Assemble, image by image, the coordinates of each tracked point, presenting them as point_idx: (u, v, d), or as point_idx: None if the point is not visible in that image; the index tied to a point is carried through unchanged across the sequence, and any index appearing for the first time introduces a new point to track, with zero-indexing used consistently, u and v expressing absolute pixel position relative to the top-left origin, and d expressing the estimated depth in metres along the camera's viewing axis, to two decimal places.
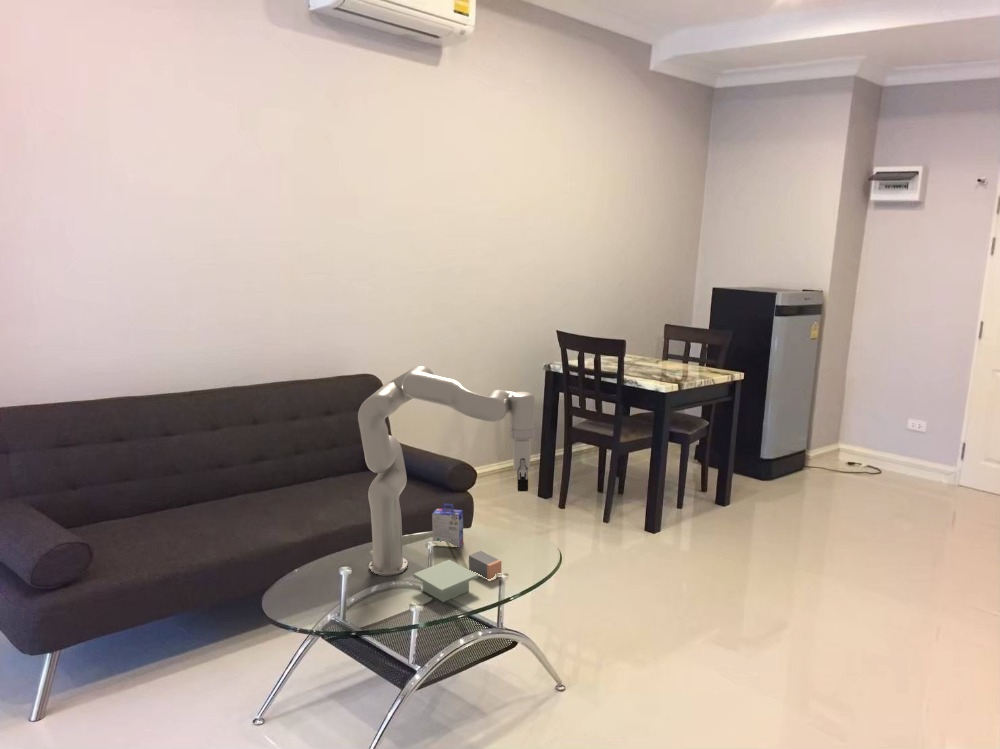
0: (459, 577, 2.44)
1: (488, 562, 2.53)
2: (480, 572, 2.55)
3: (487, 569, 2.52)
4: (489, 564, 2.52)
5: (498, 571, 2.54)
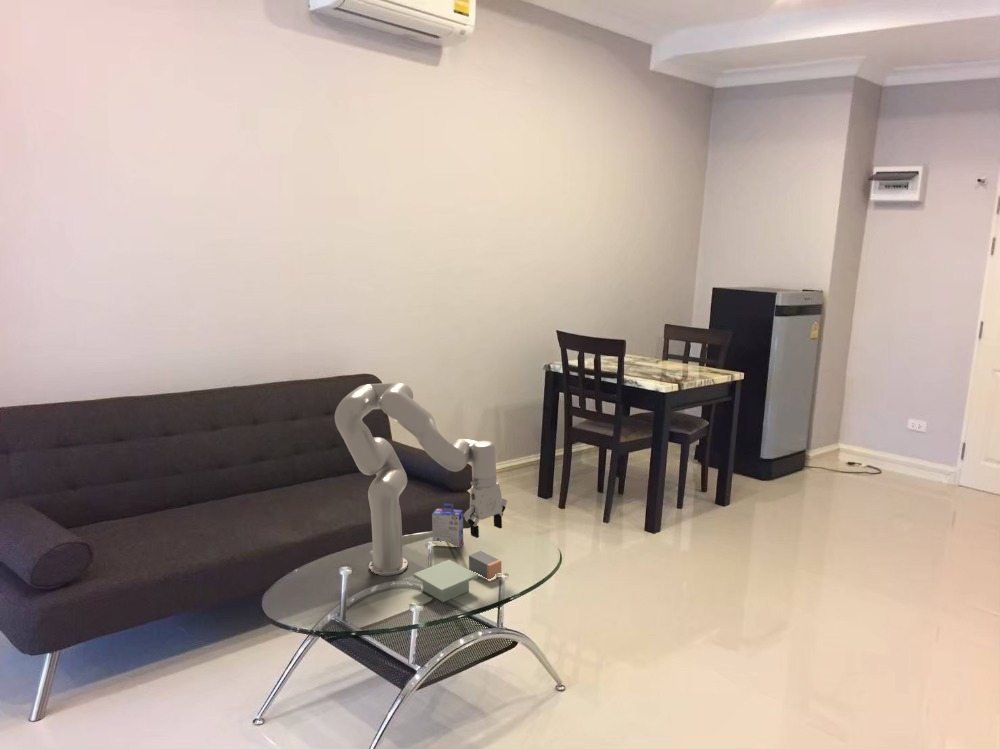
0: (459, 577, 2.44)
1: (488, 562, 2.53)
2: (480, 572, 2.55)
3: (487, 569, 2.52)
4: (489, 564, 2.52)
5: (498, 571, 2.54)
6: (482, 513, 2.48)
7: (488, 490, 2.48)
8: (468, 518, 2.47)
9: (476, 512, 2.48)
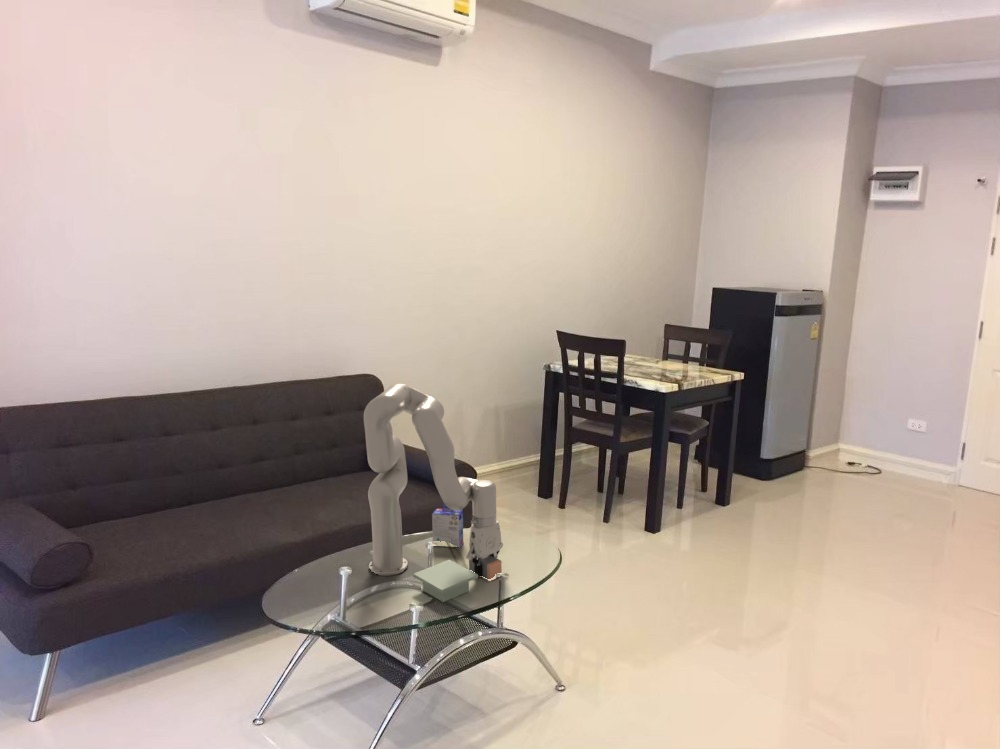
0: (459, 577, 2.44)
1: (488, 562, 2.53)
2: None
3: (487, 569, 2.52)
4: (489, 564, 2.52)
5: (498, 571, 2.54)
6: (481, 551, 2.51)
7: (488, 529, 2.51)
8: (471, 559, 2.52)
9: None
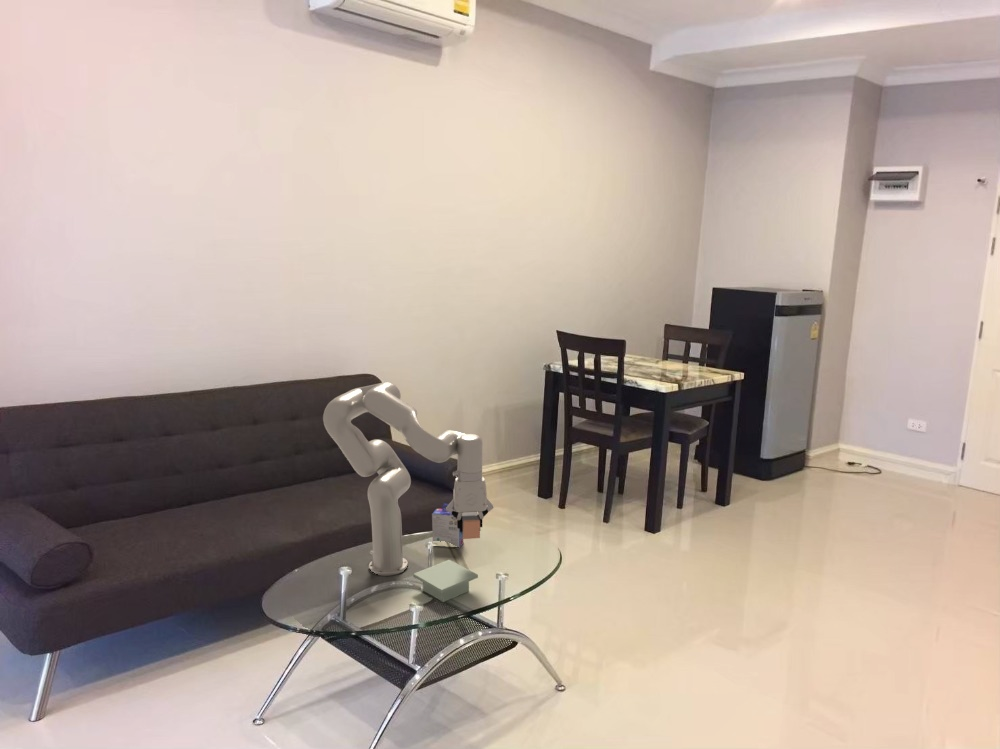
0: (459, 577, 2.44)
1: (467, 519, 2.46)
2: None
3: (463, 525, 2.45)
4: (465, 521, 2.45)
5: (475, 530, 2.45)
6: (458, 506, 2.45)
7: (468, 485, 2.44)
8: (450, 511, 2.47)
9: None
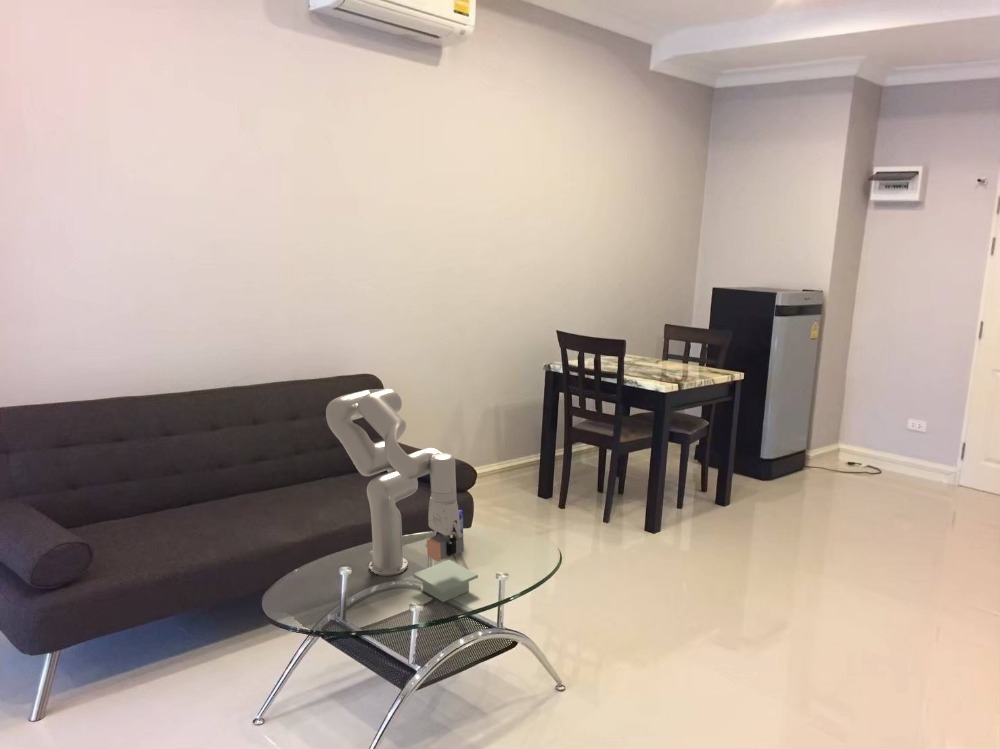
0: (459, 577, 2.44)
1: (434, 538, 2.42)
2: None
3: None
4: (429, 538, 2.41)
5: (434, 552, 2.39)
6: (430, 522, 2.43)
7: (435, 503, 2.39)
8: None
9: None
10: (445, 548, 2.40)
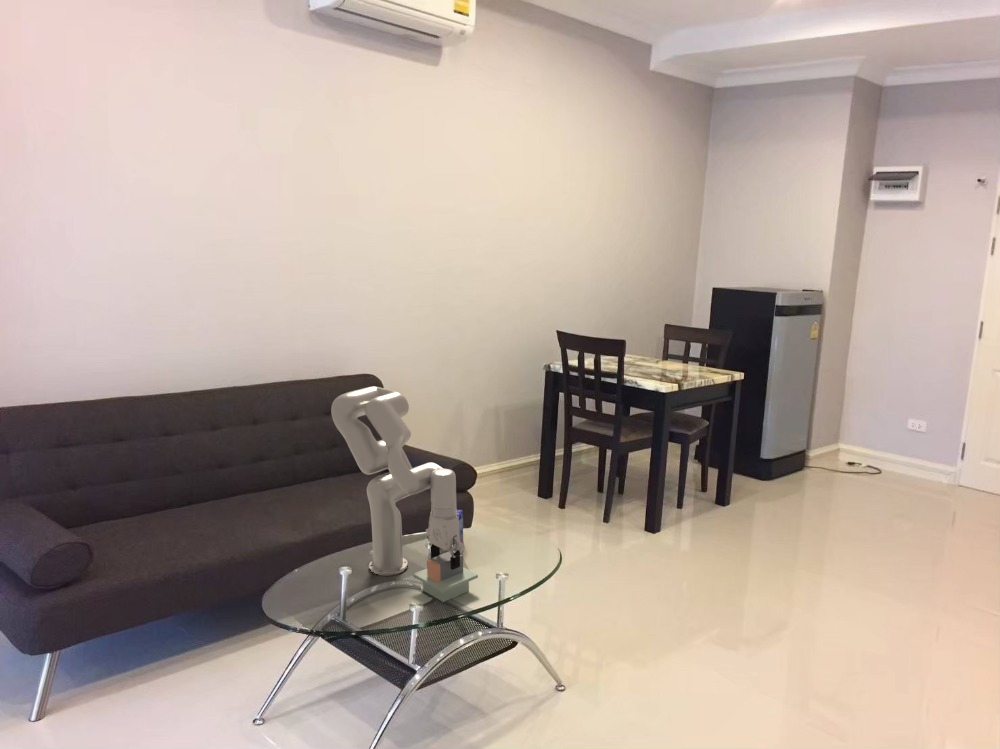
0: (459, 577, 2.44)
1: (434, 559, 2.43)
2: None
3: None
4: (430, 559, 2.43)
5: (434, 573, 2.41)
6: (430, 536, 2.44)
7: (435, 518, 2.40)
8: (427, 534, 2.48)
9: None
10: (445, 569, 2.42)
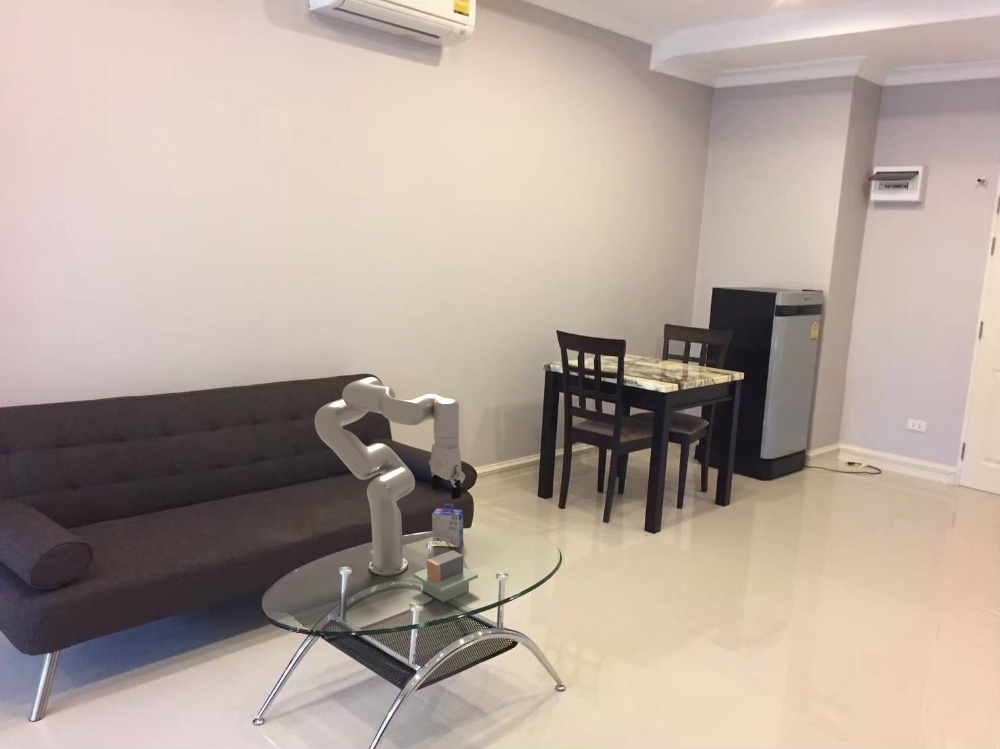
0: (459, 577, 2.44)
1: (434, 559, 2.43)
2: None
3: None
4: (430, 559, 2.43)
5: (434, 573, 2.41)
6: (432, 466, 2.44)
7: (437, 448, 2.40)
8: (430, 464, 2.48)
9: None
10: (445, 569, 2.42)
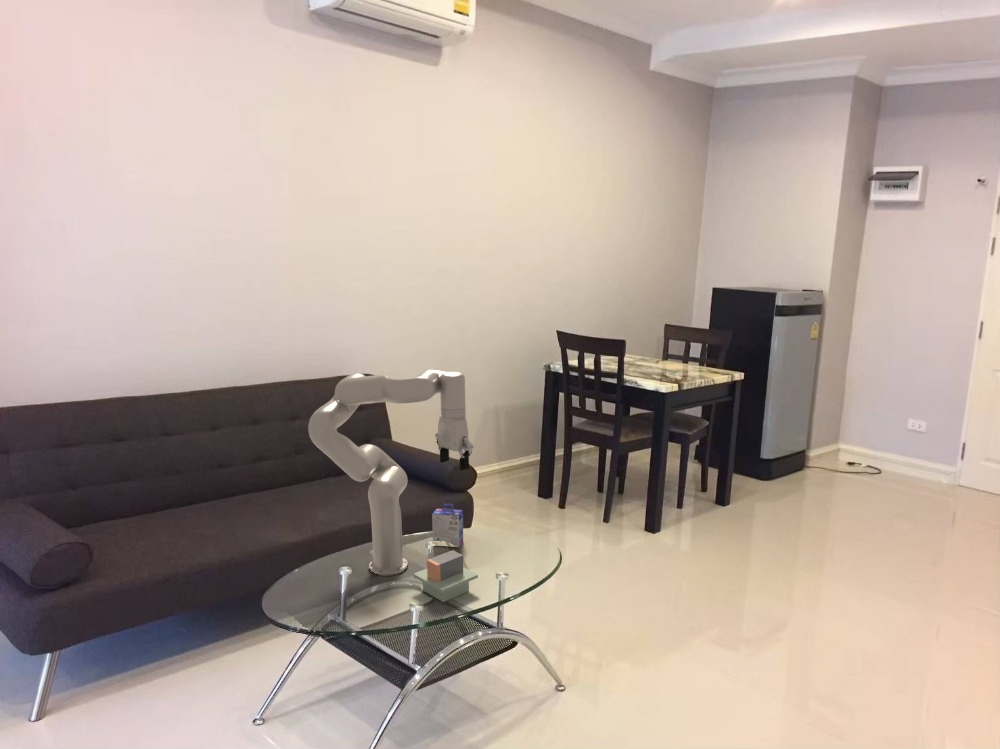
0: (459, 577, 2.44)
1: (434, 559, 2.43)
2: None
3: None
4: (430, 559, 2.43)
5: (434, 573, 2.41)
6: (439, 439, 2.49)
7: (444, 420, 2.46)
8: (437, 438, 2.54)
9: None
10: (445, 569, 2.42)
